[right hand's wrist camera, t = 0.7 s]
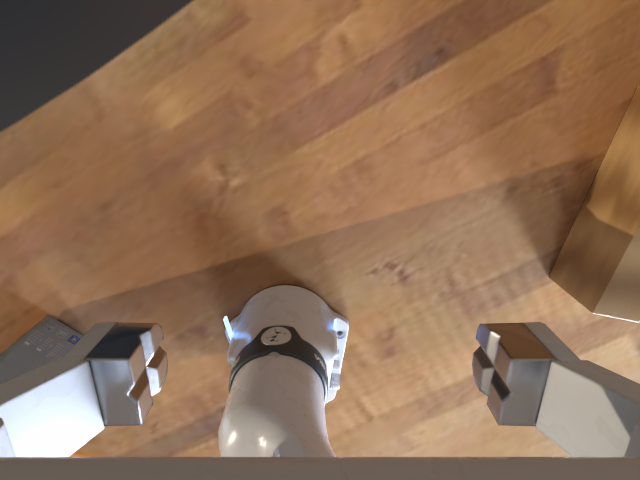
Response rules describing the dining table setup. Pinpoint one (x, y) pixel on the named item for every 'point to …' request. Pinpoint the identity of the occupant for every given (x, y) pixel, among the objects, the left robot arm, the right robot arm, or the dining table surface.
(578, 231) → the box
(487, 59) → the dining table surface
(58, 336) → the hard drive box
